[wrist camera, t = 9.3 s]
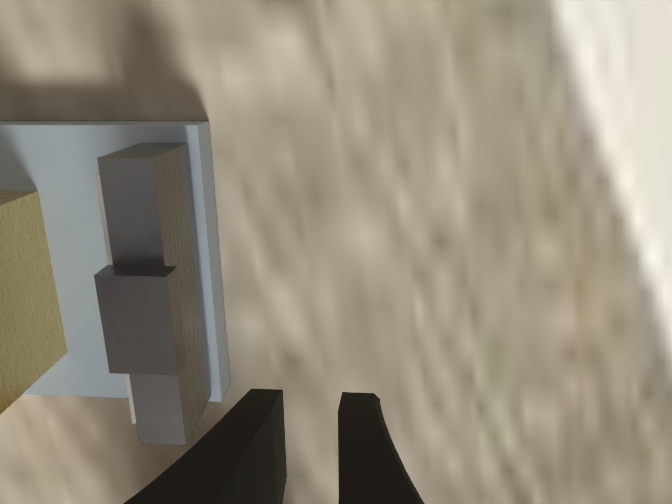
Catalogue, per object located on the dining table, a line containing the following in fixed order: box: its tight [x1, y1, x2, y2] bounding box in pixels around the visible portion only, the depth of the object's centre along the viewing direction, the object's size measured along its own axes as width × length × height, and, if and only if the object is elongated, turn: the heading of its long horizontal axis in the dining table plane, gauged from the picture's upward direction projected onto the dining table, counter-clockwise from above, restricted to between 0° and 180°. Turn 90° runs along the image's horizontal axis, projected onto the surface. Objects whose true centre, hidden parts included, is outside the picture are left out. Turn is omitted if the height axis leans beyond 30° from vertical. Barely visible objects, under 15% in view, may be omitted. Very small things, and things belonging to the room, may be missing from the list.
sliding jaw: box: [94, 143, 212, 445], centre depth 17 cm, size 2×9×4 cm, turn 0°
